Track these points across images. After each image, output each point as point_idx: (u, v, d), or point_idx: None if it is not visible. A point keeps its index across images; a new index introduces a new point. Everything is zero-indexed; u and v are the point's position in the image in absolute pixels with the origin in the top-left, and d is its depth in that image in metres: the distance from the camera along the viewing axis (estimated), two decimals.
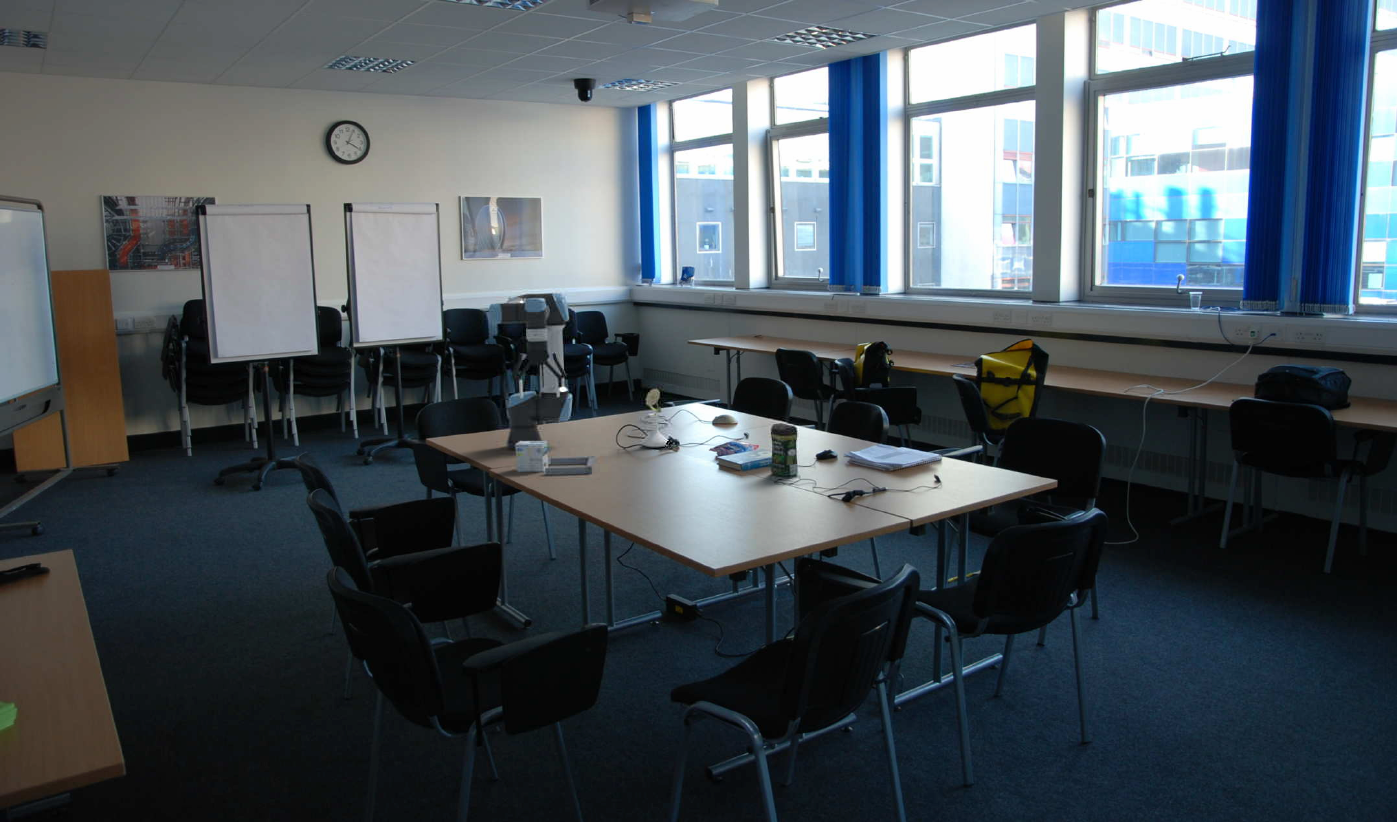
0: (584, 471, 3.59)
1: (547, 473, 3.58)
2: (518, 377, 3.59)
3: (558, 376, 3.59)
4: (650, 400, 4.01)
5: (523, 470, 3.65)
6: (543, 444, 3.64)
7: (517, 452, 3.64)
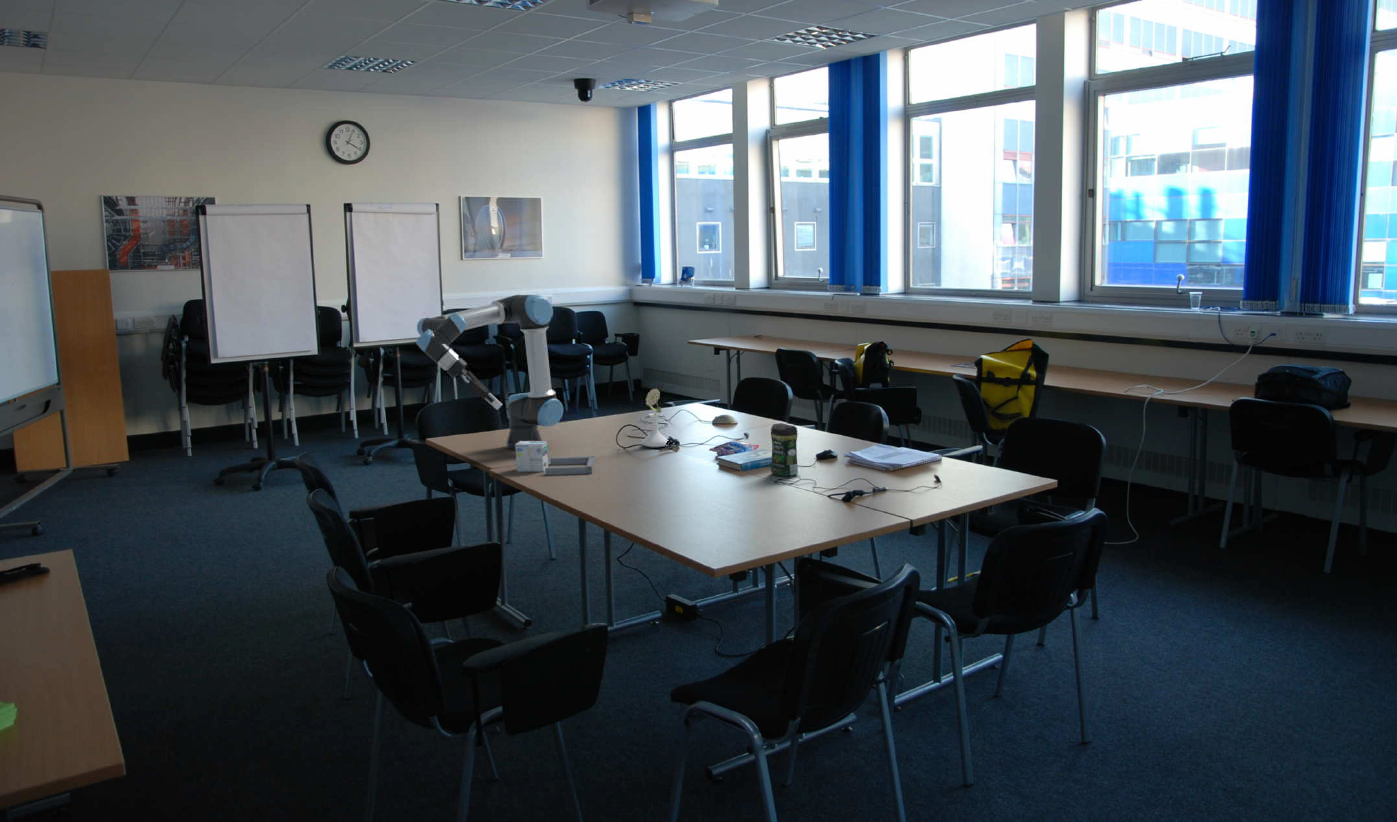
0: (584, 471, 3.59)
1: (547, 473, 3.58)
2: None
3: None
4: (650, 400, 4.01)
5: (523, 470, 3.65)
6: (543, 444, 3.64)
7: (517, 452, 3.64)
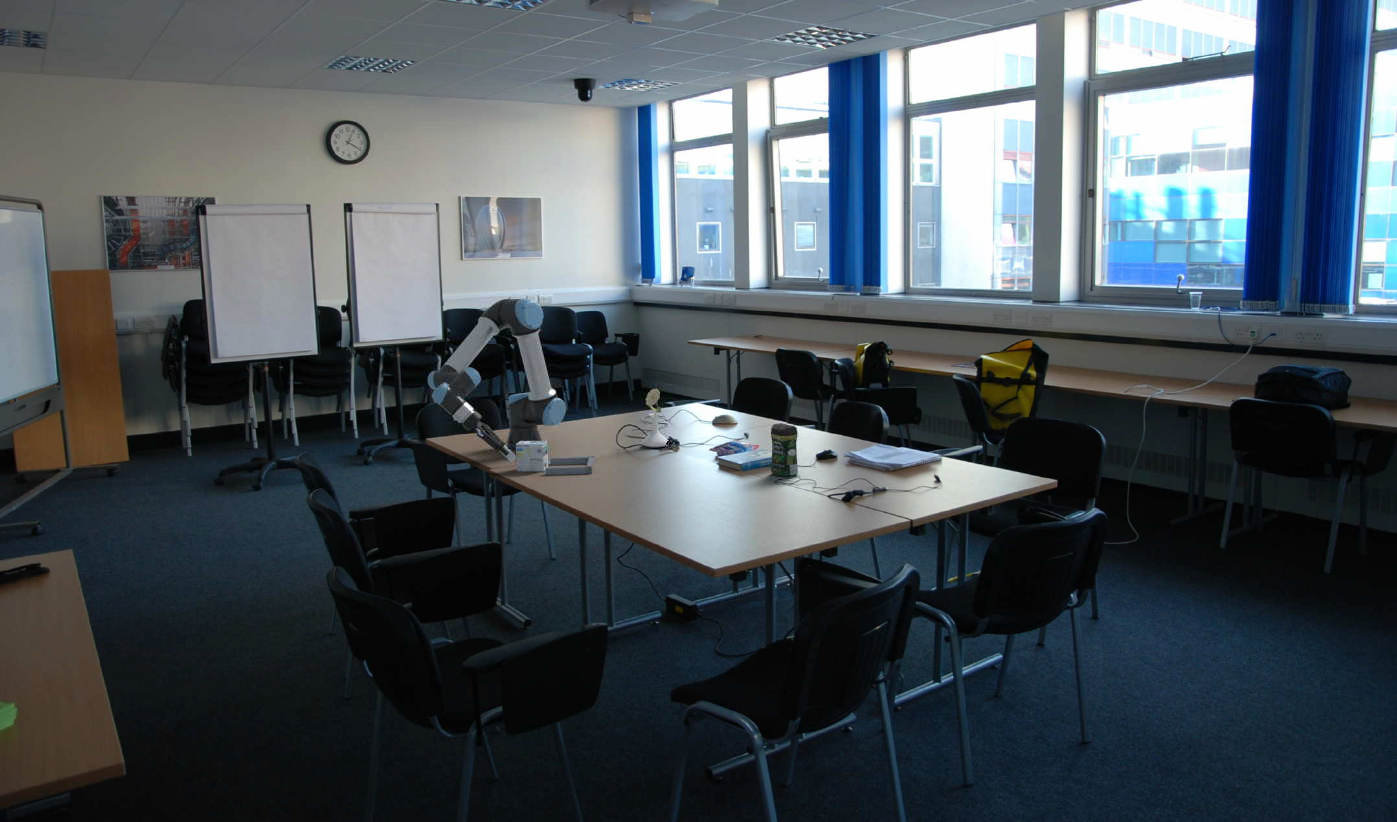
0: (584, 471, 3.59)
1: (547, 473, 3.58)
2: None
3: None
4: (650, 400, 4.01)
5: (523, 470, 3.65)
6: (543, 444, 3.64)
7: (517, 452, 3.64)
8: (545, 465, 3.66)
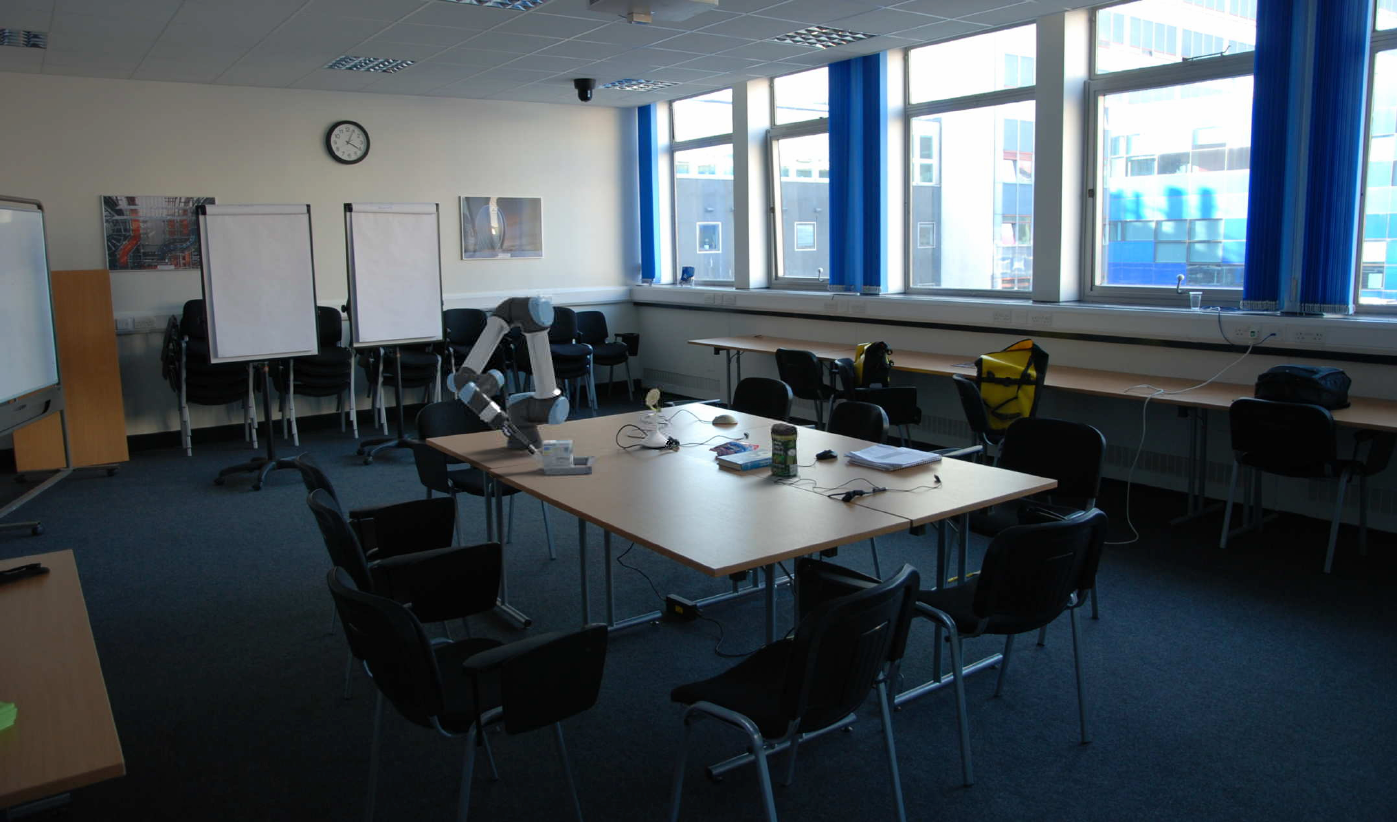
0: (584, 471, 3.59)
1: (547, 473, 3.58)
2: None
3: None
4: (650, 400, 4.01)
5: None
6: (570, 443, 3.65)
7: (544, 451, 3.64)
8: (571, 464, 3.67)
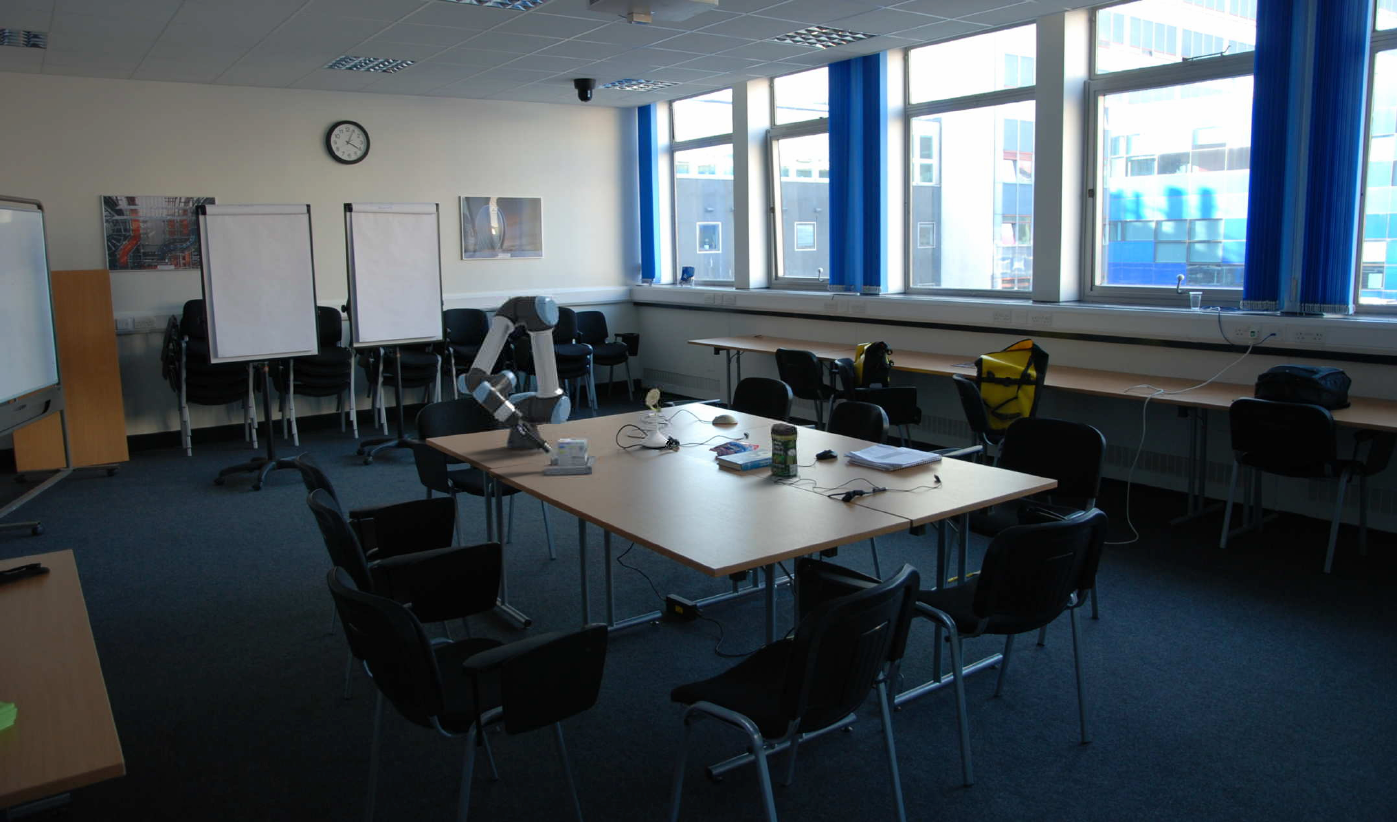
0: (584, 471, 3.59)
1: (547, 473, 3.58)
2: None
3: None
4: (650, 400, 4.01)
5: None
6: (585, 442, 3.67)
7: (559, 449, 3.65)
8: (586, 463, 3.68)
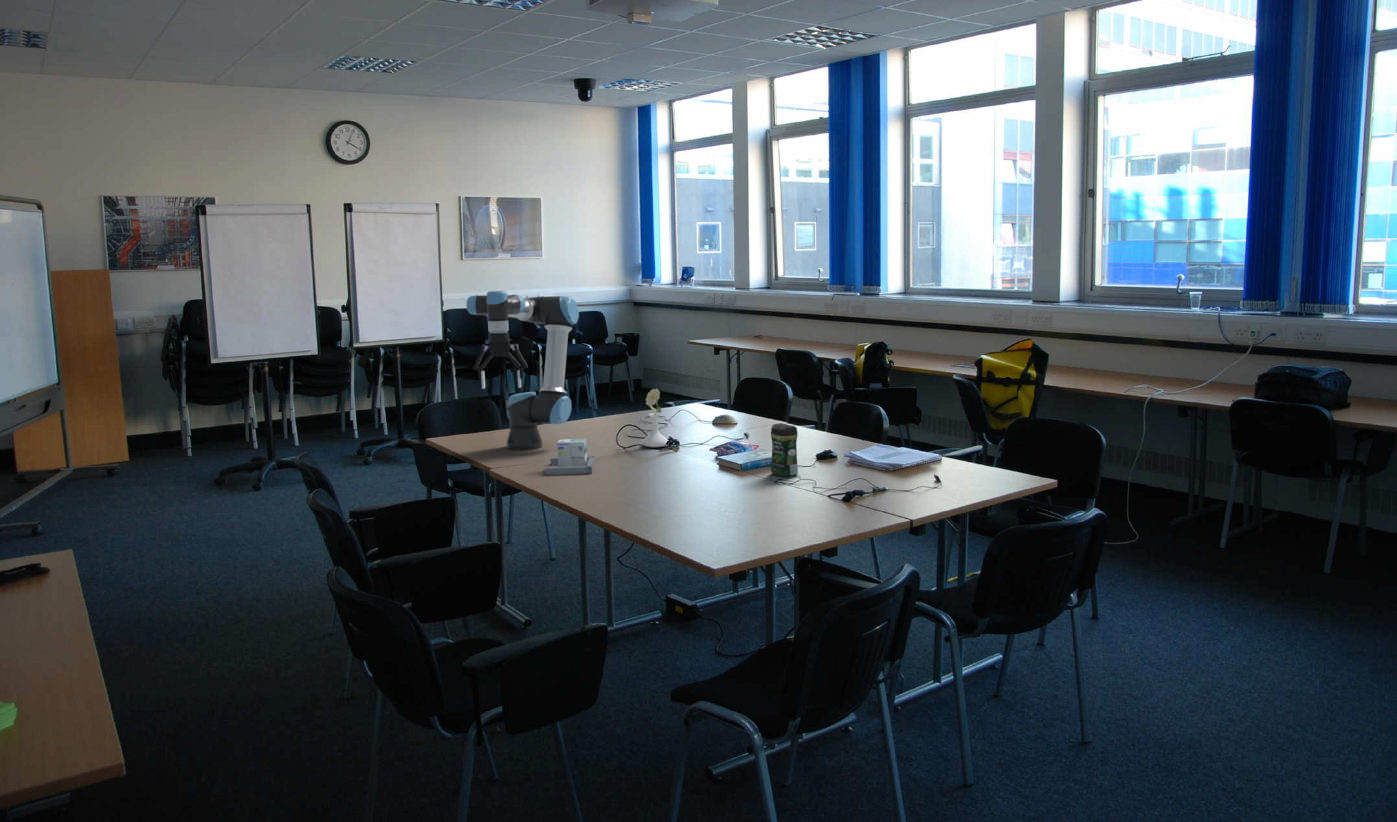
0: (584, 471, 3.59)
1: (547, 473, 3.58)
2: (480, 368, 3.67)
3: (519, 367, 3.67)
4: (650, 400, 4.01)
5: None
6: (584, 442, 3.67)
7: (558, 450, 3.66)
8: (586, 463, 3.68)
